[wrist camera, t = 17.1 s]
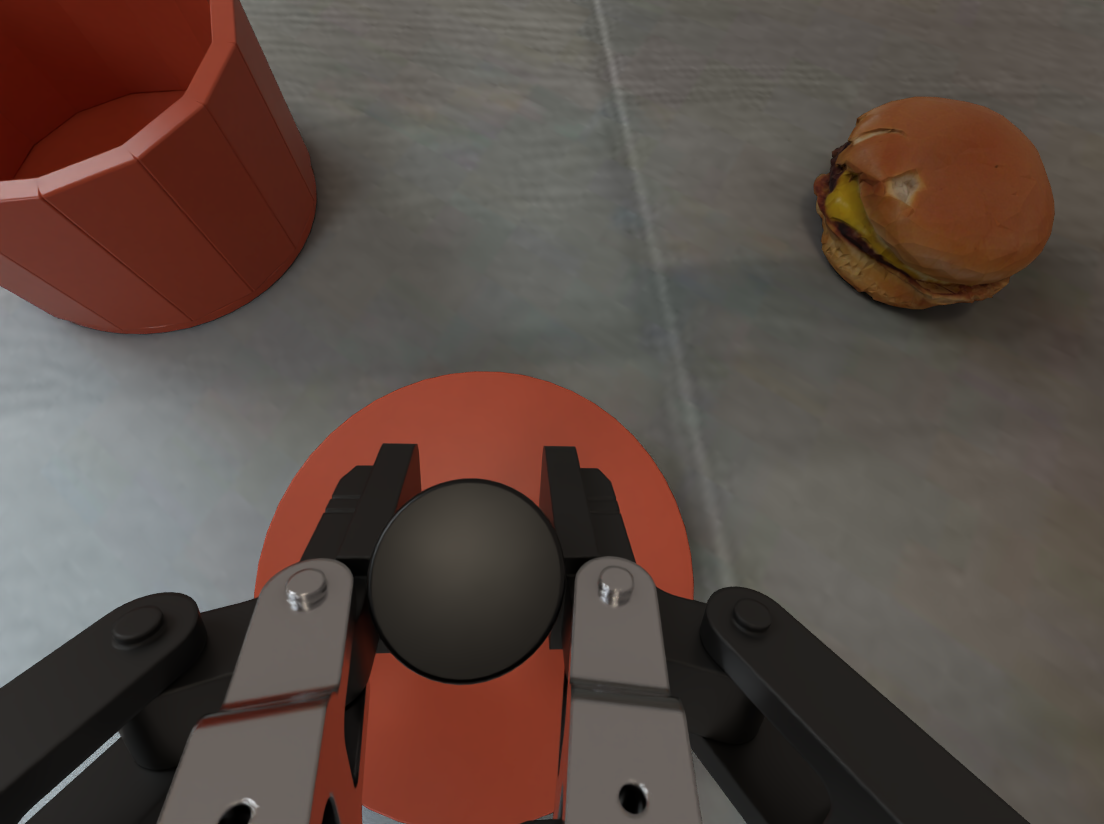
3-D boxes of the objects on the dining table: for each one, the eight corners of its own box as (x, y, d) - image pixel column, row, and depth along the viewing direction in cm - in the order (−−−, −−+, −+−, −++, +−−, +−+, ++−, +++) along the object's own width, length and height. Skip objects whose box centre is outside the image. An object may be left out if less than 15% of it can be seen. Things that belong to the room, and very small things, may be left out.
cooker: (168, 393, 19) (-23, 291, 12) (-75, 227, 20) (-382, 43, 13) (375, 180, 23) (321, 8, 16) (162, 48, 24) (22, -170, 17)
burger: (1021, 247, 26) (1129, 181, 21) (920, 355, 23) (1019, 305, 19) (873, 123, 27) (945, 37, 23) (763, 212, 25) (820, 135, 21)
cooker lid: (544, 917, 14) (644, 1647, 5) (172, 643, 15) (-382, 768, 6) (745, 513, 18) (1023, 449, 9) (440, 317, 19) (383, 66, 10)
